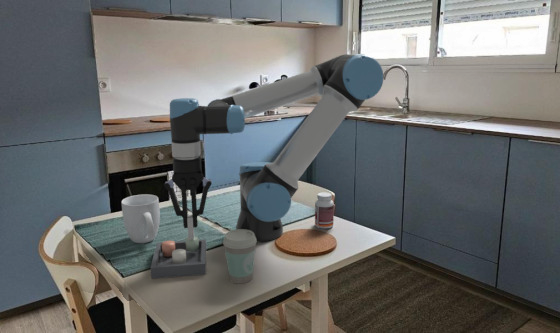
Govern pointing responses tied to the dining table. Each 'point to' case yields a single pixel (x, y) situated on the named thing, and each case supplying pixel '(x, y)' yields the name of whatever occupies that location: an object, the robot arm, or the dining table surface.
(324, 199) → the pill bottle
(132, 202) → the mug
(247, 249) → the coffee cup
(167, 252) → the button coral
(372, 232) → the dining table surface
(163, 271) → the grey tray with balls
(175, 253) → the button ivory
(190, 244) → the button sage
